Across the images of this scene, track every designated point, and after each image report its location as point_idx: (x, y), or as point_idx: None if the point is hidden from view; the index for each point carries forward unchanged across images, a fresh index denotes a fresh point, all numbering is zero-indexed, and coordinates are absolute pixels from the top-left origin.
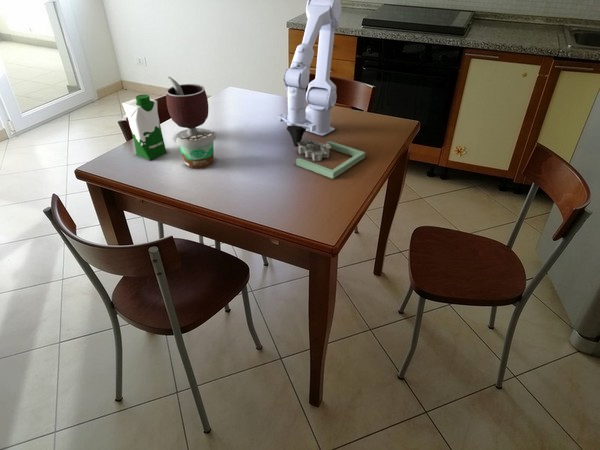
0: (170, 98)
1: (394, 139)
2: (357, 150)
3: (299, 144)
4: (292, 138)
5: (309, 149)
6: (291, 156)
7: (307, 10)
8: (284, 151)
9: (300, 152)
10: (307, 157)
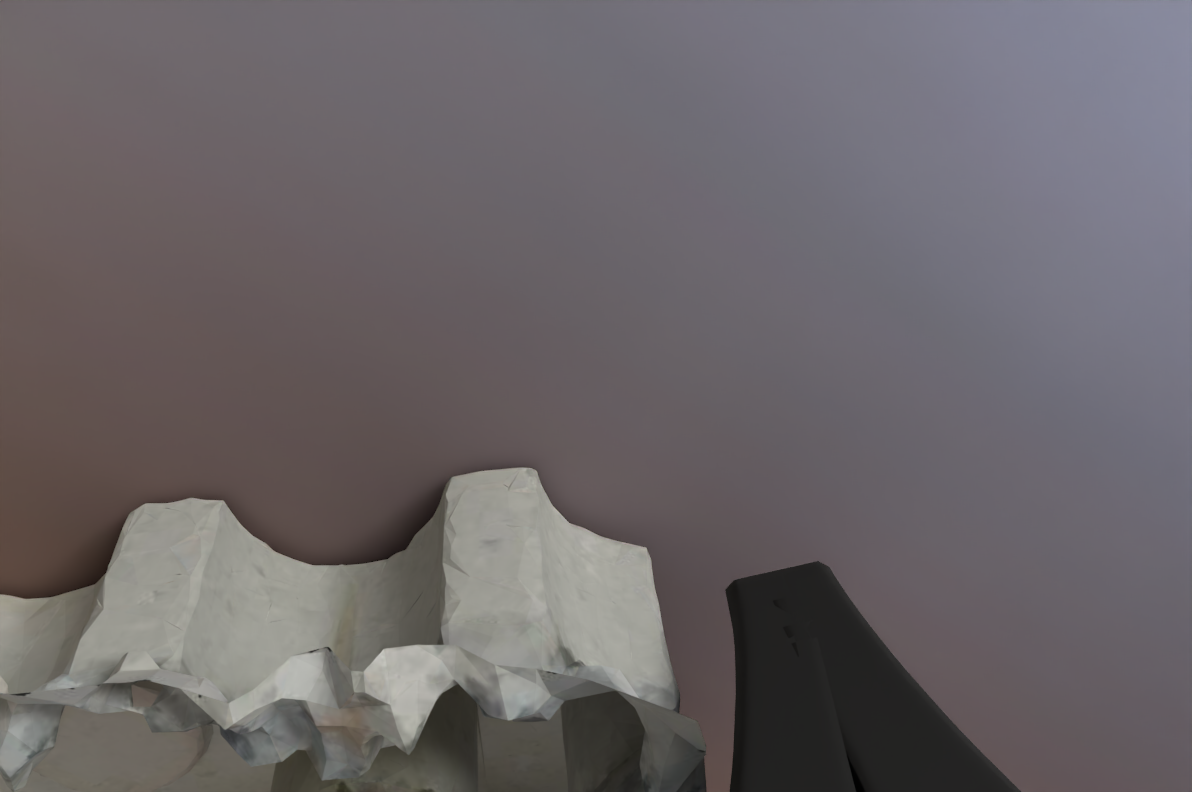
0: None
1: None
2: None
3: (512, 717)
4: (941, 768)
5: (301, 754)
6: (506, 194)
7: None
8: (959, 221)
9: (443, 512)
10: (136, 512)
